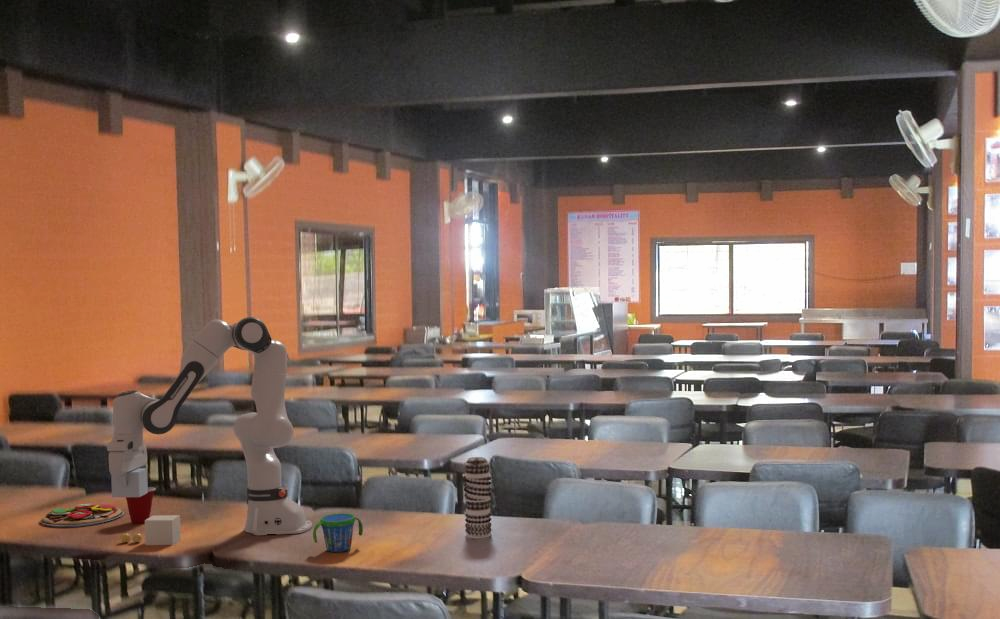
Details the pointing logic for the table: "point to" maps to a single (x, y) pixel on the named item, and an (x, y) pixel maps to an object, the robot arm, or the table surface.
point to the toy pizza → (82, 515)
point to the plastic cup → (140, 506)
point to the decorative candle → (477, 498)
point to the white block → (131, 484)
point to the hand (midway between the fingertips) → (129, 483)
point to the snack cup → (337, 531)
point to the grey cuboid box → (162, 530)
